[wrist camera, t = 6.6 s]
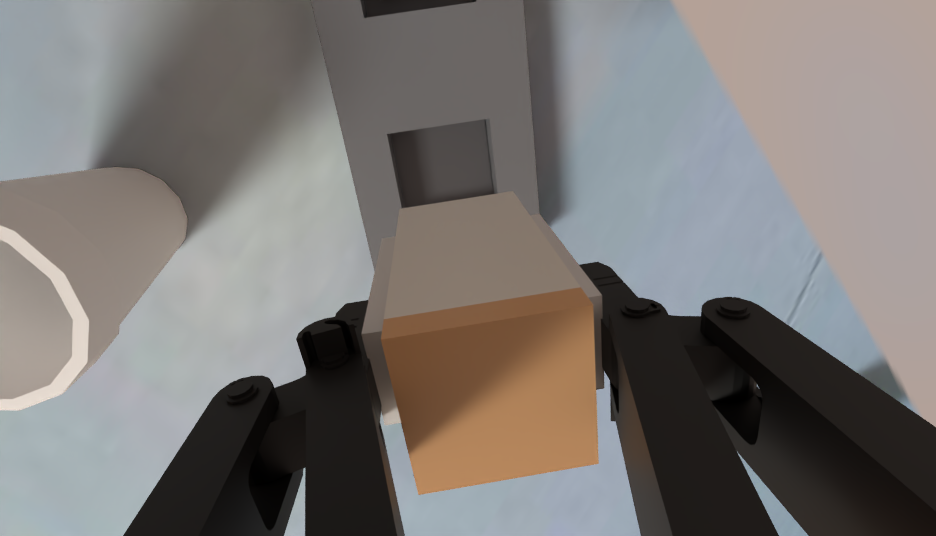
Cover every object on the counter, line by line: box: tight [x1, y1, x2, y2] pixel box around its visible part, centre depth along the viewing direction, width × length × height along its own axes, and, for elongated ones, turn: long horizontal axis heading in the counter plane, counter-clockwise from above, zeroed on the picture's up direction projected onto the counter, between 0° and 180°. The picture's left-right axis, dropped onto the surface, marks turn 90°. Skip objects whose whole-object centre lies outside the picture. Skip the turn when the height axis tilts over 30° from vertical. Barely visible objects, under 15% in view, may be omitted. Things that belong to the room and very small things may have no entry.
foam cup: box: [0, 167, 188, 410], centre depth 25 cm, size 10×9×13 cm
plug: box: [381, 191, 598, 495], centre depth 14 cm, size 4×4×9 cm
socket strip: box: [311, 0, 540, 270], centre depth 28 cm, size 24×11×2 cm, turn 8°
